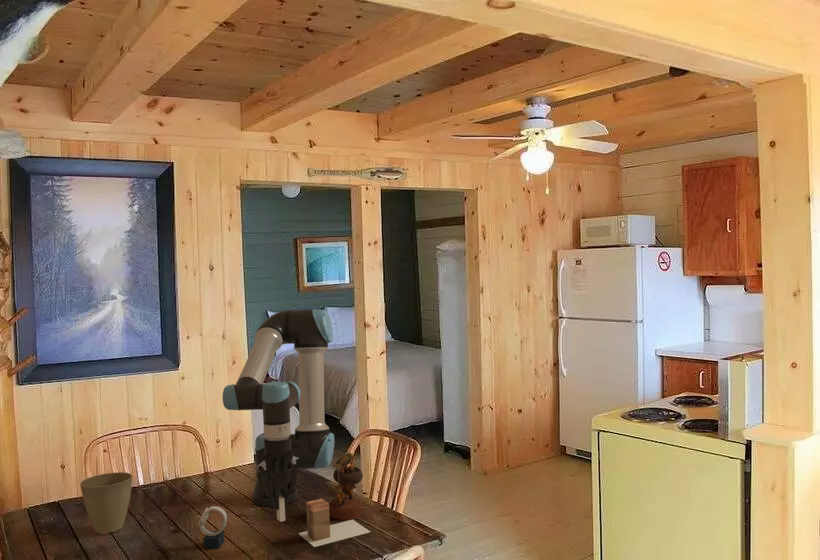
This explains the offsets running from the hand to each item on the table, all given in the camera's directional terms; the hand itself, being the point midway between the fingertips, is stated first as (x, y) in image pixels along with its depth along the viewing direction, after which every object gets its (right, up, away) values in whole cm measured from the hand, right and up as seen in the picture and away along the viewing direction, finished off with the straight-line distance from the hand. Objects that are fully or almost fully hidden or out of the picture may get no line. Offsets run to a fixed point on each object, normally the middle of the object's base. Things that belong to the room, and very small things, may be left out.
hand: (281, 519), depth 194 cm
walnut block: (+10, -7, +6) cm, 14 cm away
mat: (+14, -7, +9) cm, 18 cm away
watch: (-20, -9, +3) cm, 22 cm away
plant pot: (-57, -10, +18) cm, 61 cm away
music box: (+17, -7, +24) cm, 30 cm away
